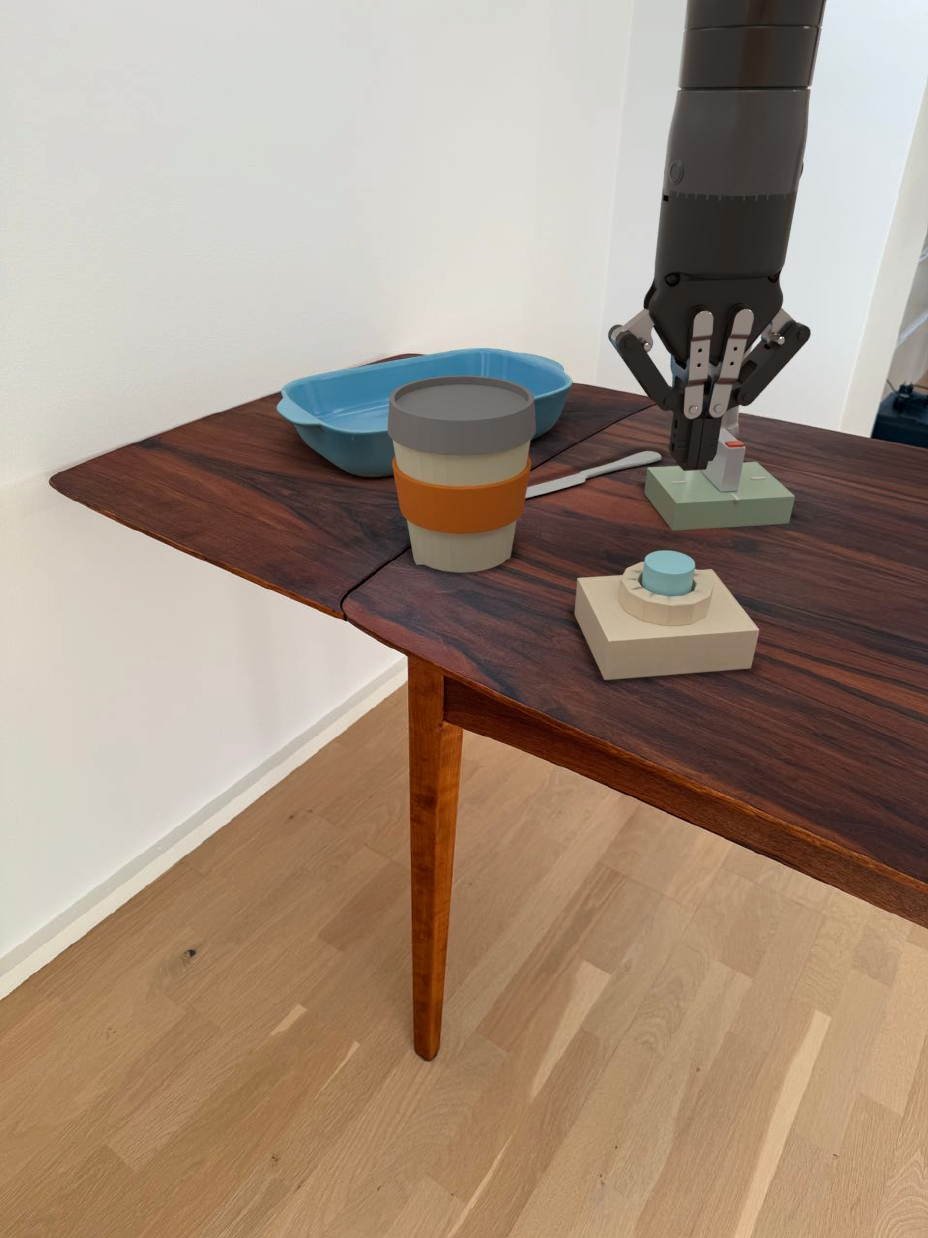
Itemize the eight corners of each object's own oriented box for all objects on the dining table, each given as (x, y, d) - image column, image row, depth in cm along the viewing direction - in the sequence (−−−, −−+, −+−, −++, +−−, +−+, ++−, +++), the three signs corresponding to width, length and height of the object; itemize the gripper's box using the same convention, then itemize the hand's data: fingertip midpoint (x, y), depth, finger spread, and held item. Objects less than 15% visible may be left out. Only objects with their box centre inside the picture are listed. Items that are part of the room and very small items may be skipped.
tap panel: (750, 486, 92) (755, 458, 90) (790, 525, 84) (797, 496, 82) (642, 492, 91) (646, 464, 89) (673, 532, 82) (677, 502, 81)
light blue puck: (681, 572, 64) (685, 548, 63) (698, 596, 61) (702, 571, 60) (635, 575, 64) (638, 551, 63) (650, 600, 61) (653, 575, 60)
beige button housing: (704, 613, 70) (715, 548, 67) (749, 677, 62) (764, 608, 59) (573, 622, 69) (578, 557, 65) (603, 689, 61) (611, 619, 58)
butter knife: (668, 456, 98) (650, 449, 100) (496, 504, 87) (480, 494, 89) (667, 460, 98) (649, 452, 100) (496, 508, 87) (480, 498, 89)
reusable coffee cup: (558, 556, 78) (568, 396, 70) (460, 606, 71) (459, 433, 63) (463, 514, 86) (463, 366, 78) (366, 555, 78) (354, 395, 70)
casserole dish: (331, 504, 88) (325, 438, 84) (253, 440, 104) (245, 382, 100) (604, 436, 105) (609, 378, 101) (501, 390, 121) (502, 338, 117)
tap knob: (700, 470, 88) (707, 426, 85) (716, 469, 88) (724, 425, 85) (720, 492, 83) (728, 445, 81) (738, 491, 83) (746, 445, 81)
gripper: (807, 173, 53) (758, 441, 62) (600, 178, 51) (581, 452, 60) (873, 185, 46) (807, 482, 55) (638, 191, 45) (611, 495, 54)
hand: (689, 466), depth 58 cm, fingers closed
